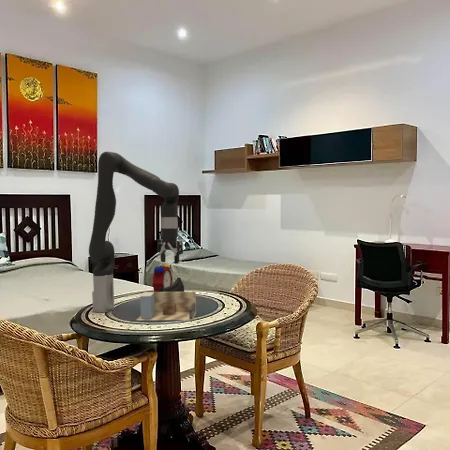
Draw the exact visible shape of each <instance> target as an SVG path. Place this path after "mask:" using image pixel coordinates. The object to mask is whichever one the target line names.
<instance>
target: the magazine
mask: <svg viewBox="0 0 450 450" xmlns="http://www.w3.org/2000/svg"><path fill="white" fill-rule="evenodd" d="M159 292H185V285H184V282H183V281H182V278H181V277H176V279H175V281H174V282H172V285H170V286H168V287H166V288H163V287H161V288H160V290H159Z"/></svg>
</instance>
